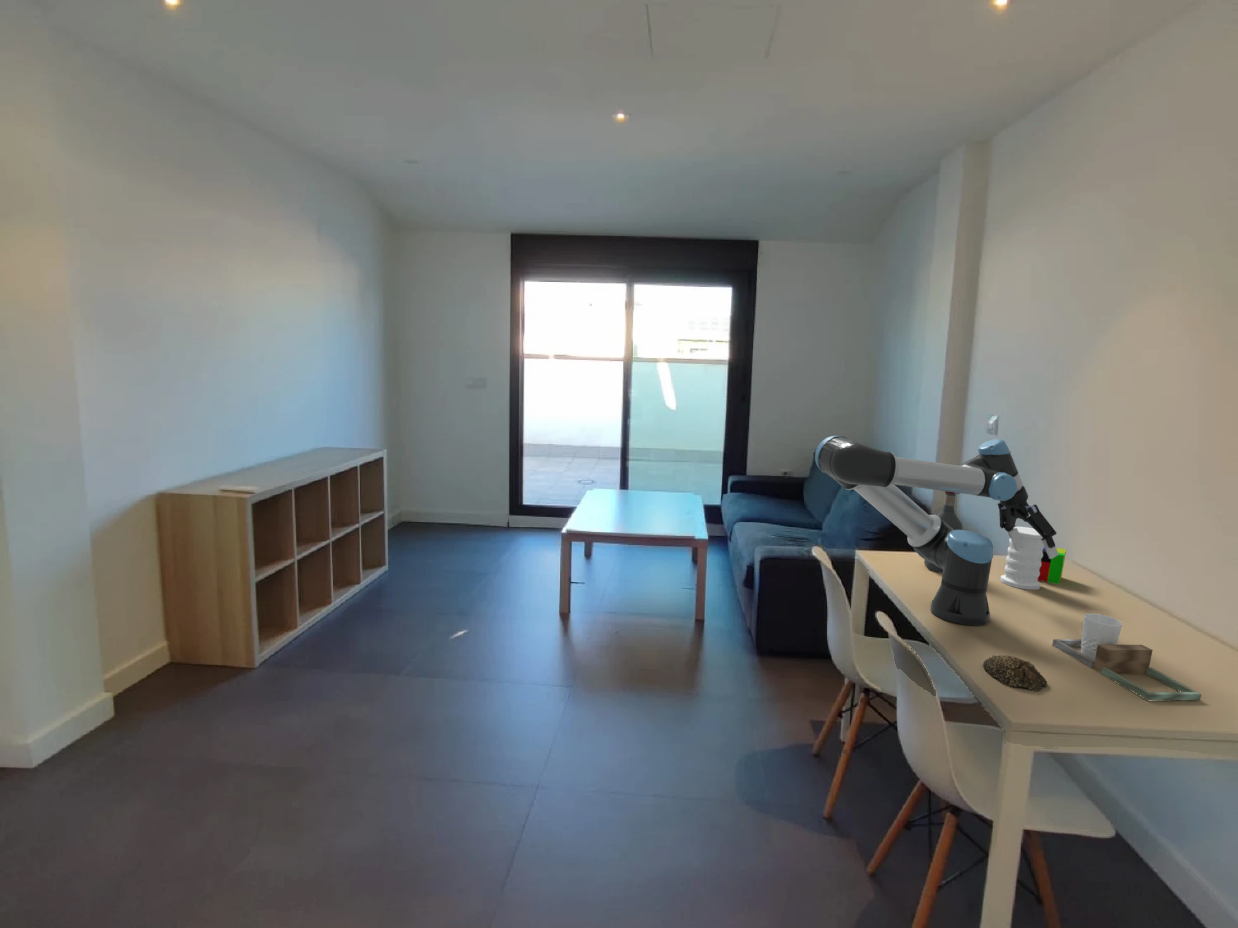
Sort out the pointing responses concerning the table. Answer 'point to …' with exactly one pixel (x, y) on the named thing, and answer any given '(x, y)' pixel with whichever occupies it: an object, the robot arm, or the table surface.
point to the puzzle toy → (1052, 567)
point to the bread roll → (1014, 672)
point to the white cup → (1098, 633)
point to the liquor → (948, 518)
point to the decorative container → (1024, 561)
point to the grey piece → (1127, 668)
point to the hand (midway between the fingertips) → (1036, 552)
